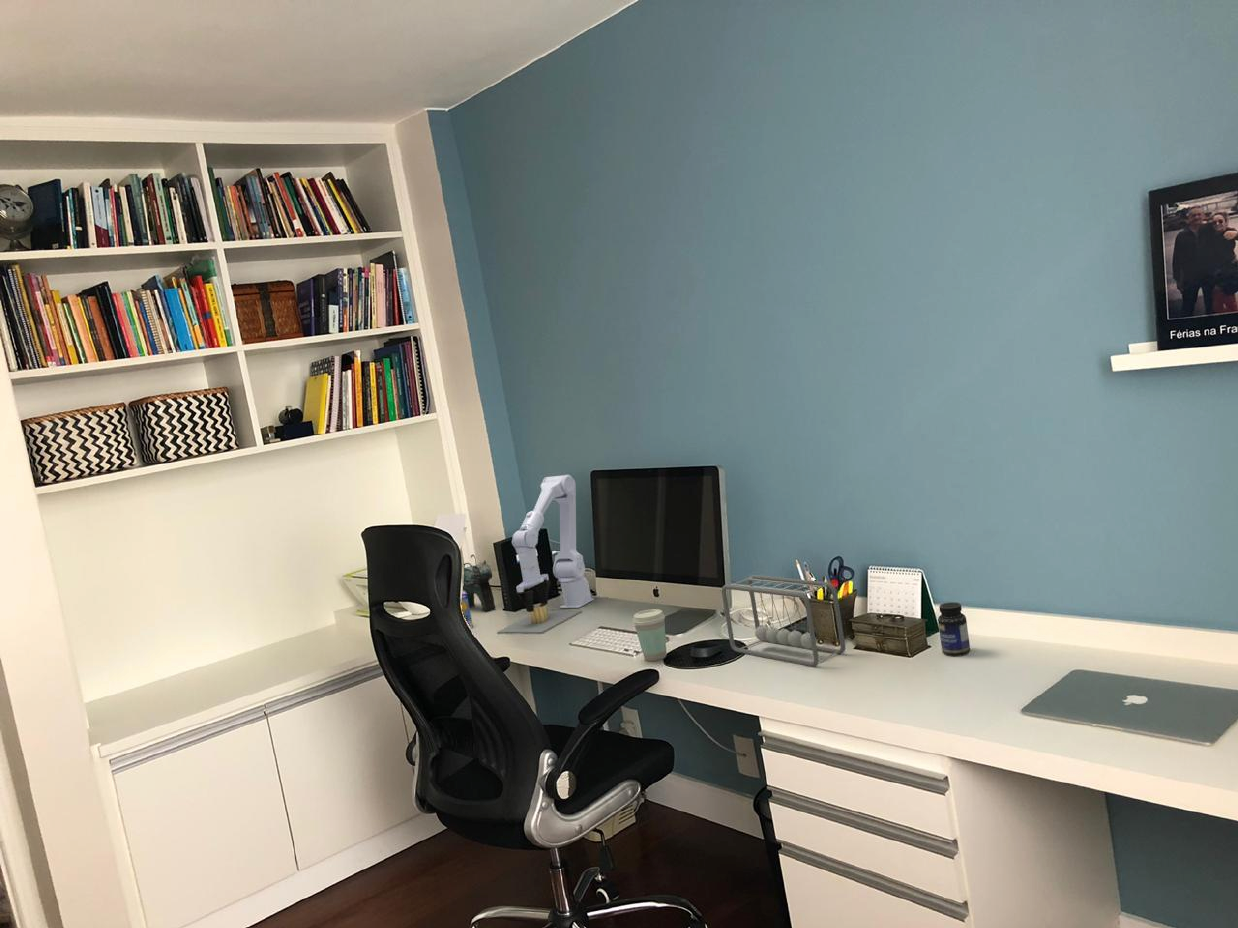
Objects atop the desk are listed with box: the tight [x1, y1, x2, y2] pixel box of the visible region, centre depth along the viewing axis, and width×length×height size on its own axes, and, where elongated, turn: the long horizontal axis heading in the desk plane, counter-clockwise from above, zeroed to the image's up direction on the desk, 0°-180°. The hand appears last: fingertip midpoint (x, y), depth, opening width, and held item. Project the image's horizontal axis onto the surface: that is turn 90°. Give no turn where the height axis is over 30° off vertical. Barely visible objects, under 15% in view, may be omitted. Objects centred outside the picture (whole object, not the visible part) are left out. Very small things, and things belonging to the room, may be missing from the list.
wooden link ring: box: [528, 603, 549, 624], centre depth 319 cm, size 6×6×5 cm
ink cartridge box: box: [461, 591, 474, 629], centre depth 329 cm, size 10×6×14 cm, turn 107°
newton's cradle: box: [721, 574, 846, 668], centre depth 245 cm, size 30×10×18 cm, turn 36°
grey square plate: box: [496, 604, 583, 635], centre depth 319 cm, size 22×18×6 cm
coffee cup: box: [632, 608, 667, 662], centre depth 260 cm, size 9×8×12 cm
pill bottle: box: [937, 601, 971, 657], centre depth 224 cm, size 6×6×11 cm
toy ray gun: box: [463, 554, 496, 613], centre depth 354 cm, size 20×6×20 cm, turn 37°
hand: (537, 607), depth 319 cm, fingers open, 7 cm apart
